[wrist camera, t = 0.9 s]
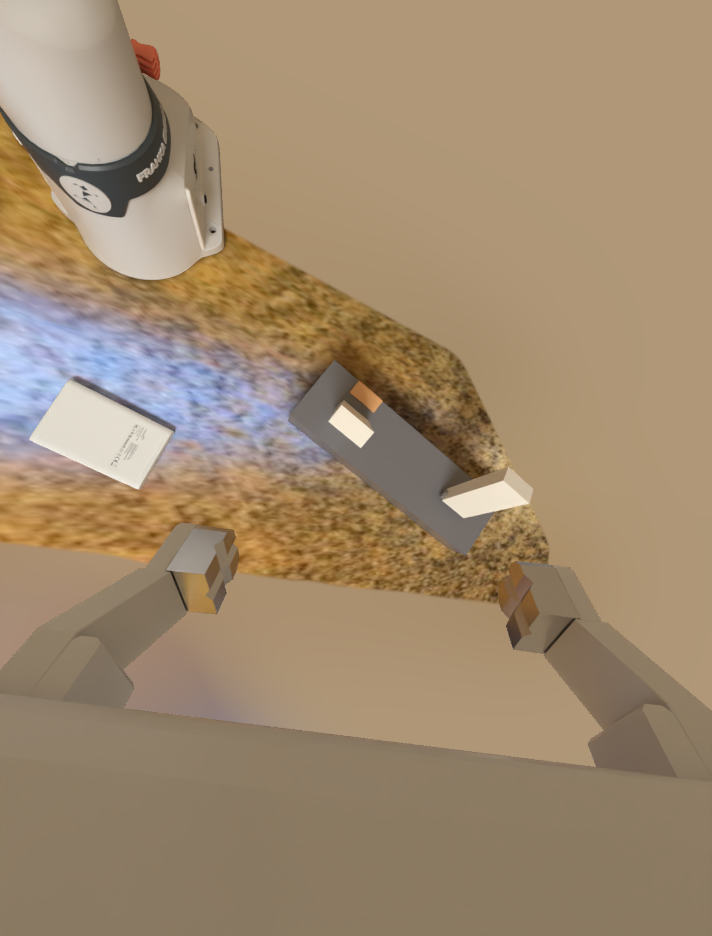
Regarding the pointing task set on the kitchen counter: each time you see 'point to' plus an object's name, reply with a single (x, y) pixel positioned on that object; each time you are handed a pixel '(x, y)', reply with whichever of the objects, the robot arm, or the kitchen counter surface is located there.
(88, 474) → the kitchen counter surface
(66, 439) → the external hard drive
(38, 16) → the robot arm
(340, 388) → the switch box
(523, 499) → the lever
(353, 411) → the lever
